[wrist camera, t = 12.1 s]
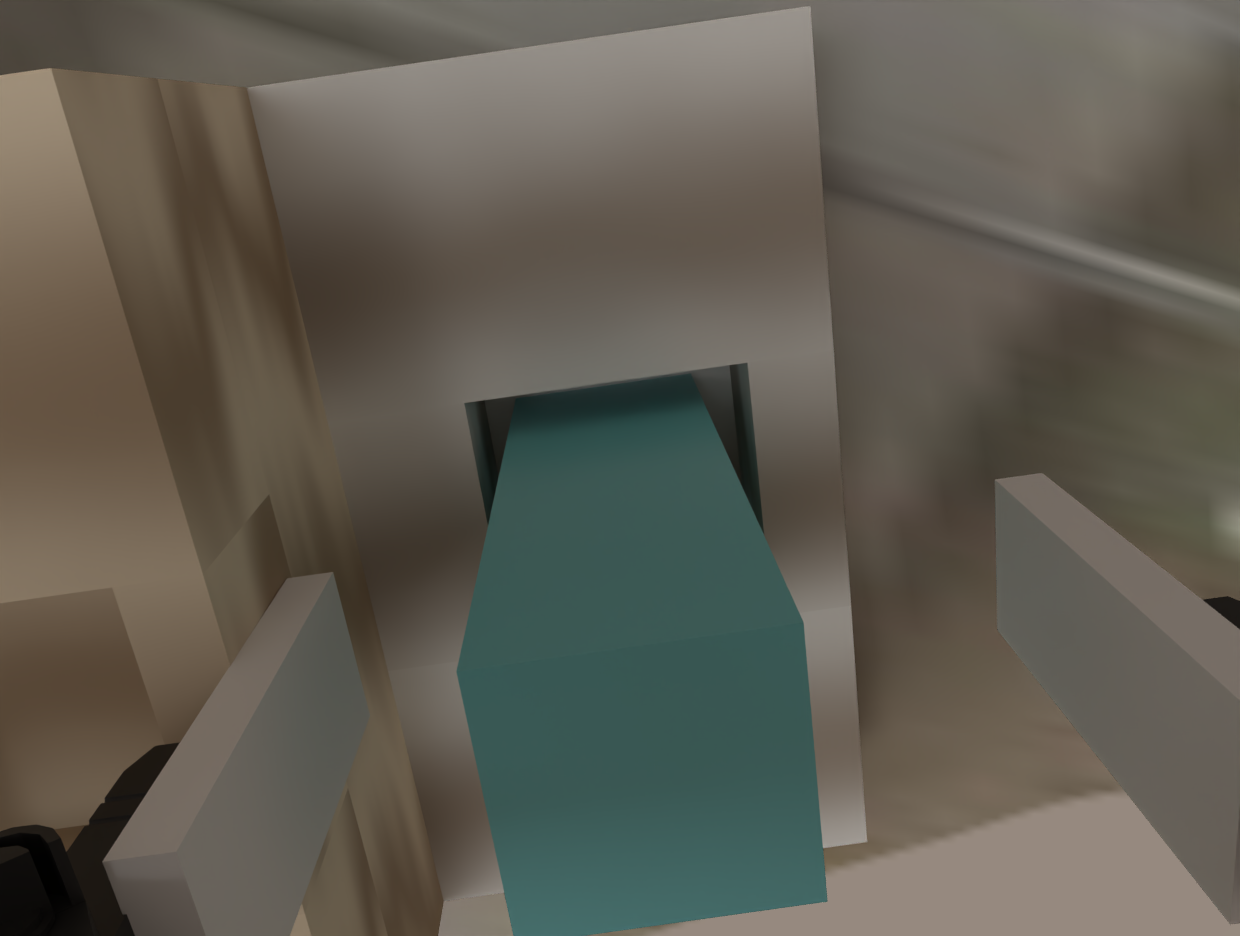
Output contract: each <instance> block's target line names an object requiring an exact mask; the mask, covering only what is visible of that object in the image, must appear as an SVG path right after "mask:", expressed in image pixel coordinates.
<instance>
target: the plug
mask: <svg viewBox="0 0 1240 936" xmlns="http://www.w3.org/2000/svg"><path fill="white" fill-rule="evenodd" d="M456 672H457V677H458V682H459V686H460V691H461V696H462V700H463V705H464V709H465V714H466V719H467V723H468V728H469V732H470V737H471V742H472V746H473V751H474V756H475V760H476V765H477V769H478V774H479V779H480V783H481V788H482V792H483V797H484V802H485V806H486V811H487V815H488V820H489V825H490V829H491V834H492V839H493V843H494V848H495V852H496V857H497V862H498V866H499V871H500V875H501V880H502V885H503V889H504V894H505V899H506V903H507V908H508V912H509V917H510V922H511V926H512V931H513V935H514V936H585V935H592V934H599V933H606V932H613V931H621V930H628V929H635V928H642V927H649V926H656V925H663V924H671V923H678V922H685V921H692V920H699V919H706V918H713V917H720V916H728V915H735V914H742V913H749V912H756V911H763V910H770V909H777V908H785V907H792V906H799V905H806V904H813V903H820V902H827V891H826V878H825V866H824V855H823V843H822V831H821V820H820V808H819V796H818V784H817V773H816V761H815V749H814V738H813V726H812V714H811V703H810V691H809V679H808V668H807V656H806V644H805V632H804V622H803V620H802V618H801V616H800V613H799V611H798V609H797V607H796V605H795V602H794V600H793V598H792V596H791V594H790V591H789V589H788V587H787V585H786V582H785V580H784V578H783V576H782V574H781V571H780V569H779V567H778V565H777V563H776V560H775V558H774V556H773V554H772V552H771V549H770V547H769V545H768V543H767V541H766V538H765V536H764V534H763V532H762V530H761V527H760V525H759V523H758V521H757V519H756V516H755V514H754V512H753V510H752V507H751V505H750V503H749V501H748V499H747V496H746V494H745V492H744V490H743V488H742V485H741V483H740V481H739V479H738V477H737V474H736V472H735V470H734V468H733V466H732V463H731V461H730V459H729V457H728V455H727V452H726V450H725V448H724V446H723V443H722V441H721V439H720V437H719V435H718V432H717V430H716V428H715V426H714V424H713V421H712V419H711V417H710V415H709V413H708V410H707V408H706V406H705V404H704V402H703V399H702V397H701V395H700V393H699V391H698V388H697V386H696V384H695V382H694V379H693V377H692V375H691V373H690V374H683V375H676V376H669V377H662V378H655V379H648V380H641V381H634V382H627V383H620V384H613V385H606V386H599V387H592V388H585V389H578V390H571V391H564V392H557V393H550V394H543V395H536V396H529V397H522V398H516V400H515V404H514V409H513V414H512V418H511V423H510V427H509V432H508V436H507V441H506V446H505V450H504V455H503V459H502V464H501V469H500V473H499V478H498V482H497V487H496V492H495V496H494V501H493V505H492V510H491V515H490V519H489V524H488V528H487V533H486V538H485V542H484V547H483V551H482V556H481V561H480V565H479V570H478V574H477V579H476V584H475V588H474V593H473V597H472V602H471V607H470V611H469V616H468V620H467V625H466V630H465V634H464V639H463V643H462V648H461V653H460V657H459V662H458V666H457V671H456Z"/></svg>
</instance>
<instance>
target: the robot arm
mask: <svg viewBox="0 0 1240 936" xmlns="http://www.w3.org/2000/svg"><path fill="white" fill-rule="evenodd" d="M995 523H996V586H997V630H998V631H999V633H1000V634H1001V635H1002V636H1003V638H1004V639H1005V640H1006V642H1007V643H1008V644H1009V645H1010V647H1011V648H1012V649H1013V650H1014V652H1015V653H1016V654H1017V655H1018V657H1019V658H1020V659H1021V661H1022V662H1023V663H1024V664H1025V666H1026V667H1027V668H1028V669H1029V671H1030V672H1031V673H1032V674H1033V676H1034V677H1035V678H1036V679H1037V681H1038V682H1039V683H1040V685H1041V686H1042V687H1043V688H1044V690H1045V691H1046V692H1047V693H1048V695H1049V696H1050V697H1051V698H1052V700H1053V701H1054V702H1055V703H1056V705H1057V706H1058V707H1059V709H1060V710H1061V711H1062V712H1063V714H1064V715H1065V716H1066V717H1067V719H1068V720H1069V721H1070V722H1071V724H1072V725H1073V726H1074V728H1075V729H1076V730H1077V731H1078V733H1079V734H1080V735H1081V736H1082V738H1083V739H1084V740H1085V741H1086V743H1087V744H1088V745H1089V746H1090V748H1091V749H1092V750H1093V752H1094V753H1095V754H1096V755H1097V757H1098V758H1099V759H1100V760H1101V762H1102V763H1103V764H1104V765H1105V767H1106V768H1107V769H1108V770H1109V772H1110V773H1111V774H1112V776H1113V777H1114V778H1115V779H1116V781H1117V782H1118V783H1119V784H1120V786H1121V787H1122V788H1123V789H1124V791H1125V792H1126V793H1127V795H1128V796H1129V797H1130V798H1131V800H1132V801H1133V802H1134V803H1135V805H1136V806H1137V807H1138V808H1139V810H1140V811H1141V812H1142V813H1143V815H1144V816H1145V817H1146V819H1147V820H1148V821H1149V822H1150V824H1151V825H1152V826H1153V827H1154V829H1155V830H1156V831H1157V832H1158V834H1159V835H1160V836H1161V838H1162V839H1163V840H1164V841H1165V843H1166V844H1167V845H1168V846H1169V848H1170V849H1171V850H1172V851H1173V852H1174V854H1175V855H1176V856H1177V858H1178V859H1179V860H1180V861H1181V863H1182V864H1183V865H1184V867H1185V868H1186V869H1187V870H1188V872H1189V873H1190V874H1191V875H1192V877H1193V878H1194V879H1195V880H1196V882H1197V883H1198V884H1199V886H1200V887H1201V888H1202V889H1203V891H1204V892H1205V893H1206V894H1207V896H1208V897H1209V898H1210V899H1211V901H1212V902H1213V903H1214V905H1215V906H1216V907H1217V908H1218V910H1219V911H1220V912H1221V913H1222V915H1223V916H1224V917H1225V918H1226V920H1227V921H1228V922H1229V923H1230V924H1237V923H1240V601H1238V600H1236V599H1233V598H1231V597H1228V596H1227V597H1219V598H1212V599H1205V600H1202V599H1201V598H1199V597H1198V596H1197V595H1196V594H1194V593H1193V592H1192V591H1191V590H1189V589H1188V588H1187V587H1185V586H1184V585H1183V584H1182V583H1180V582H1179V581H1178V580H1177V579H1175V578H1174V577H1173V576H1172V575H1170V574H1169V573H1168V572H1167V571H1165V570H1164V569H1163V568H1162V567H1160V566H1159V565H1158V564H1156V563H1155V562H1154V561H1153V560H1151V559H1150V558H1149V557H1148V556H1146V555H1145V554H1144V553H1143V552H1141V551H1140V550H1139V549H1138V548H1136V547H1135V546H1134V545H1132V544H1131V543H1130V542H1129V541H1127V540H1126V539H1125V538H1124V537H1122V536H1121V535H1120V534H1119V533H1117V532H1116V531H1115V530H1114V529H1112V528H1111V527H1110V526H1109V525H1107V524H1106V523H1105V522H1103V521H1102V520H1101V519H1100V518H1098V517H1097V516H1096V515H1095V514H1093V513H1092V512H1091V511H1090V510H1088V509H1087V508H1086V507H1085V506H1083V505H1082V504H1081V503H1079V502H1078V501H1077V500H1076V499H1074V498H1073V497H1072V496H1071V495H1069V494H1068V493H1067V492H1066V491H1064V490H1063V489H1062V488H1061V487H1059V486H1058V485H1057V484H1056V483H1054V482H1053V481H1052V480H1050V479H1049V478H1048V477H1047V476H1045V475H1044V474H1043V473H1038V474H1031V475H1024V476H1016V477H1009V478H1002V479H995ZM369 717H370V713H369V709H368V705H367V702H366V698H365V694H364V690H363V686H362V682H361V678H360V674H359V671H358V667H357V663H356V659H355V655H354V651H353V647H352V643H351V639H350V636H349V632H348V628H347V624H346V620H345V616H344V612H343V608H342V605H341V601H340V597H339V593H338V589H337V585H336V581H335V577H334V574H333V572H329V573H322V574H315V575H307V576H300V577H293V578H287V579H286V581H285V582H284V584H283V585H282V587H281V588H280V590H279V591H278V593H277V594H276V596H275V598H274V599H273V601H272V602H271V604H270V605H269V607H268V608H267V610H266V611H265V613H264V614H263V616H262V617H261V619H260V621H259V622H258V624H257V625H256V627H255V628H254V630H253V631H252V633H251V634H250V636H249V637H248V639H247V640H246V642H245V644H244V645H243V647H242V648H241V650H240V651H239V653H238V655H237V656H236V658H235V659H234V661H233V663H232V664H231V666H230V667H229V668H228V670H227V671H226V673H225V674H224V676H223V677H222V679H221V680H220V682H219V683H218V685H217V687H216V688H215V690H214V691H213V693H212V694H211V696H210V697H209V699H208V700H207V702H206V703H205V705H204V706H203V708H202V710H201V711H200V713H199V714H198V716H197V717H196V719H195V720H194V722H193V723H192V725H191V726H190V728H189V729H188V731H187V733H186V734H185V736H184V737H183V739H182V740H181V742H179V743H172V744H165V745H158V746H154V747H153V748H152V749H151V750H149V751H148V752H147V753H146V754H144V755H143V756H142V757H141V758H139V759H138V760H137V761H136V762H134V763H133V764H132V765H131V766H129V767H128V768H127V769H126V770H124V771H123V773H122V774H121V776H120V777H119V778H118V780H117V781H116V783H115V784H114V785H113V787H112V788H111V790H110V791H109V792H108V794H107V795H106V797H105V798H104V799H105V803H101V804H100V805H99V807H98V808H97V809H96V811H95V812H94V814H93V815H92V816H91V818H90V819H89V825H88V826H84V828H83V829H82V831H81V832H80V833H79V835H78V836H77V838H76V839H75V840H74V842H73V843H72V845H71V846H70V847H69V849H68V850H67V852H66V850H65V847H64V845H63V842H62V840H61V837H60V836H59V835H58V834H57V832H56V831H55V830H54V829H53V828H51V827H46V826H41V825H37V824H35V825H27V826H19V827H12V828H9V829H6V830H3V831H0V936H290V934H291V931H292V928H293V926H294V923H295V920H296V917H297V915H298V912H299V909H300V906H301V904H302V901H303V898H304V895H305V893H306V890H307V887H308V884H309V882H310V879H311V876H312V873H313V871H314V868H315V865H316V863H317V860H318V857H319V854H320V852H321V849H322V846H323V843H324V841H325V838H326V835H327V832H328V830H329V827H330V824H331V821H332V819H333V816H334V813H335V810H336V808H337V805H338V802H339V800H340V797H341V794H342V791H343V789H344V786H345V783H346V780H347V778H348V775H349V772H350V769H351V767H352V764H353V761H354V758H355V756H356V753H357V750H358V747H359V745H360V742H361V739H362V736H363V734H364V731H365V728H366V726H367V723H368V720H369Z"/></svg>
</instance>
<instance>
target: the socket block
mask: <svg viewBox="0 0 1240 936" xmlns="http://www.w3.org/2000/svg"><path fill="white" fill-rule="evenodd" d="M690 373H691V375H692V377H693V379H694V382H695V384H696V386H697V388H698V391H699V393H700V395H701V397H702V399H703V402H704V404H705V406H706V408H707V410H708V413H709V415H710V417H711V419H712V421H713V424H714V426H715V428H716V430H717V432H718V435H719V437H720V439H721V441H722V443H723V446H724V448H725V450H726V452H727V455H728V457H729V459H730V461H731V463H732V466H733V468H734V470H735V472H736V474H737V477H738V479H739V481H740V483H741V485H742V488H743V490H744V492H745V494H746V496H747V499H748V501H749V503H750V505H751V507H752V510H753V512H754V514H755V516H756V519H757V521H758V523H759V525H760V527H761V530H762V532H763V534H764V536H765V538H766V541H767V543H768V545H769V547H770V549H771V552H772V554H773V556H774V558H775V560H776V563H777V565H778V567H779V569H780V571H781V574H782V576H783V578H784V580H785V582H786V585H787V587H788V589H789V591H790V594H791V596H792V598H793V600H794V602H795V605H796V607H797V609H798V611H799V613H800V616H801V618H802V620H803V622H804V632H805V644H806V656H807V668H808V679H809V691H810V703H811V714H812V726H813V738H814V749H815V761H816V773H817V784H818V796H819V808H820V820H821V831H822V843H823V848H827V847H834V846H841V845H848V844H855V843H863V842H867V834H866V819H865V804H864V789H863V775H862V760H861V745H860V730H859V716H858V701H857V686H856V671H855V656H854V642H853V627H852V612H851V597H850V583H849V568H848V553H847V538H846V524H845V509H844V494H843V479H842V464H841V450H840V435H839V420H838V405H837V391H836V376H835V361H834V346H833V332H832V317H831V302H830V287H829V273H828V258H827V243H826V228H825V213H824V199H823V184H822V169H821V154H820V140H819V125H818V110H817V95H816V81H815V66H814V51H813V36H812V21H811V7H810V6H806V7H799V8H792V9H785V10H778V11H771V12H764V13H757V14H750V15H744V16H737V17H730V18H723V19H716V20H709V21H702V22H695V23H688V24H682V25H675V26H668V27H661V28H654V29H647V30H640V31H633V32H626V33H620V34H613V35H606V36H599V37H592V38H585V39H578V40H571V41H564V42H558V43H551V44H544V45H537V46H530V47H523V48H516V49H509V50H502V51H495V52H489V53H482V54H475V55H468V56H461V57H454V58H447V59H440V60H433V61H427V62H420V63H413V64H406V65H399V66H392V67H385V68H378V69H371V70H365V71H358V72H351V73H344V74H337V75H330V76H323V77H316V78H309V79H303V80H296V81H289V82H282V83H275V84H268V85H261V86H254V87H247V88H245V87H235V86H225V85H215V84H205V83H196V82H186V81H176V80H166V79H156V78H146V77H136V76H126V75H116V74H106V73H96V72H86V71H76V70H66V69H56V68H47V69H40V70H33V71H27V72H20V73H13V74H6V75H0V831H3V830H6V829H9V828H12V827H19V826H27V825H35V824H37V825H41V826H46V827H51V828H53V829H54V830H55V831H56V832H57V834H58V835H59V836H60V837H61V840H62V842H63V845H64V847H65V850H66V852H67V850H68V849H69V847H70V846H71V845H72V843H73V842H74V840H75V839H76V838H77V836H78V835H79V833H80V832H81V831H82V829H83V828H84V826H88V825H89V819H90V818H91V816H92V815H93V814H94V812H95V811H96V809H97V808H98V807H99V805H100V804H101V803H105V799H104V798H105V797H106V795H107V794H108V792H109V791H110V790H111V788H112V787H113V785H114V784H115V783H116V781H117V780H118V778H119V777H120V776H121V774H122V773H123V771H124V770H126V769H127V768H128V767H129V766H131V765H132V764H133V763H134V762H136V761H137V760H138V759H139V758H141V757H142V756H143V755H144V754H146V753H147V752H148V751H149V750H151V749H152V748H153V747H154V746H158V745H165V744H172V743H179V742H181V740H182V739H183V737H184V736H185V734H186V733H187V731H188V729H189V728H190V726H191V725H192V723H193V722H194V720H195V719H196V717H197V716H198V714H199V713H200V711H201V710H202V708H203V706H204V705H205V703H206V702H207V700H208V699H209V697H210V696H211V694H212V693H213V691H214V690H215V688H216V687H217V685H218V683H219V682H220V680H221V679H222V677H223V676H224V674H225V673H226V671H227V670H228V668H229V667H230V666H231V664H232V663H233V661H234V659H235V658H236V656H237V655H238V653H239V651H240V650H241V648H242V647H243V645H244V644H245V642H246V640H247V639H248V637H249V636H250V634H251V633H252V631H253V630H254V628H255V627H256V625H257V624H258V622H259V621H260V619H261V617H262V616H263V614H264V613H265V611H266V610H267V608H268V607H269V605H270V604H271V602H272V601H273V599H274V598H275V596H276V594H277V593H278V591H279V590H280V588H281V587H282V585H283V584H284V582H285V581H286V579H287V578H293V577H300V576H307V575H315V574H322V573H329V572H333V574H334V577H335V581H336V585H337V589H338V593H339V597H340V601H341V605H342V608H343V612H344V616H345V620H346V624H347V628H348V632H349V636H350V639H351V643H352V647H353V651H354V655H355V659H356V663H357V667H358V671H359V674H360V678H361V682H362V686H363V690H364V694H365V698H366V702H367V705H368V709H369V713H370V717H369V720H368V723H367V726H366V728H365V731H364V734H363V736H362V739H361V742H360V745H359V747H358V750H357V753H356V756H355V758H354V761H353V764H352V767H351V769H350V772H349V775H348V778H347V780H346V783H345V786H344V789H343V791H342V794H341V797H340V800H339V802H338V805H337V808H336V810H335V813H334V816H333V819H332V821H331V824H330V827H329V830H328V832H327V835H326V838H325V841H324V843H323V846H322V849H321V852H320V854H319V857H318V860H317V863H316V865H315V868H314V871H313V873H312V876H311V879H310V882H309V884H308V887H307V890H306V893H305V895H304V898H303V901H302V904H301V906H300V909H299V912H298V915H297V917H296V920H295V923H294V926H293V928H292V931H291V934H290V936H438V932H439V926H440V920H441V914H442V908H443V902H444V901H449V900H456V899H464V898H471V897H478V896H485V895H492V894H499V893H504V889H503V885H502V880H501V875H500V871H499V866H498V862H497V857H496V852H495V848H494V843H493V839H492V834H491V829H490V825H489V820H488V815H487V811H486V806H485V802H484V797H483V792H482V788H481V783H480V779H479V774H478V769H477V765H476V760H475V756H474V751H473V746H472V742H471V737H470V732H469V728H468V723H467V719H466V714H465V709H464V705H463V700H462V696H461V691H460V686H459V682H458V677H457V672H456V671H457V666H458V662H459V657H460V653H461V648H462V643H463V639H464V634H465V630H466V625H467V620H468V616H469V611H470V607H471V602H472V597H473V593H474V588H475V584H476V579H477V574H478V570H479V565H480V561H481V556H482V551H483V547H484V542H485V538H486V533H487V528H488V524H489V519H490V515H491V510H492V505H493V501H494V496H495V492H496V487H497V482H498V478H499V473H500V469H501V464H502V459H503V455H504V450H505V446H506V441H507V436H508V432H509V427H510V423H511V418H512V414H513V409H514V404H515V400H516V398H522V397H529V396H536V395H543V394H550V393H557V392H564V391H571V390H578V389H585V388H592V387H599V386H606V385H613V384H620V383H627V382H634V381H641V380H648V379H655V378H662V377H669V376H676V375H683V374H690Z"/></svg>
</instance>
